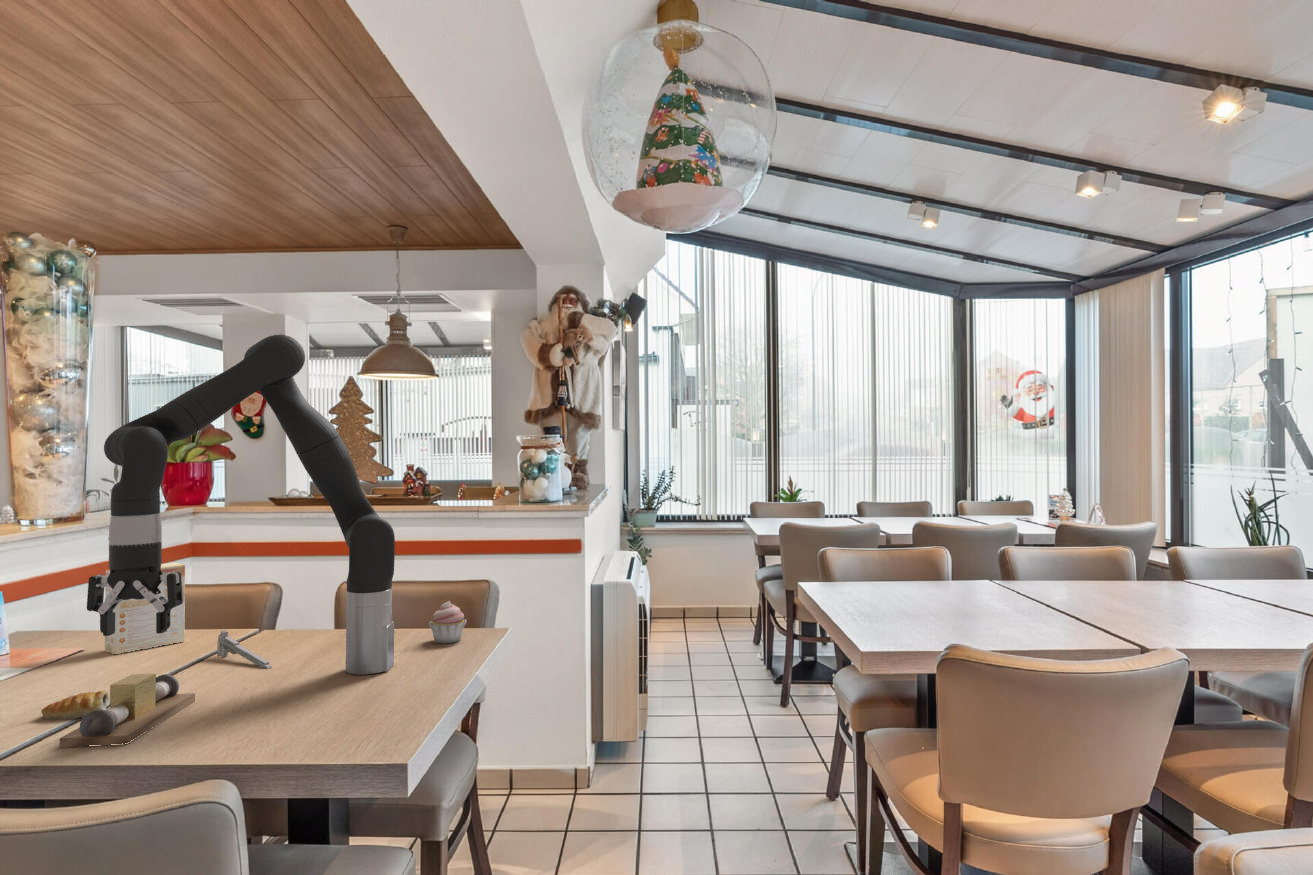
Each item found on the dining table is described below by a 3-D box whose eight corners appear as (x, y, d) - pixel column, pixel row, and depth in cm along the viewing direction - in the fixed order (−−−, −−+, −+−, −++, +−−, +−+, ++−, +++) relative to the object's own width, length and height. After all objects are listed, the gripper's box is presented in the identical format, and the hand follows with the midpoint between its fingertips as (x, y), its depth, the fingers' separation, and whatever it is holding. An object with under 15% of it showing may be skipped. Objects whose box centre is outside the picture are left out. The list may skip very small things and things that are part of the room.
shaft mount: (194, 701, 137) (195, 672, 137) (127, 744, 116) (127, 710, 116) (138, 703, 136) (138, 674, 136) (59, 747, 115) (60, 713, 115)
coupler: (155, 707, 129) (155, 673, 129) (134, 719, 123) (135, 683, 123) (131, 708, 129) (131, 674, 129) (109, 720, 123) (110, 684, 123)
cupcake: (461, 645, 177) (461, 604, 177) (423, 645, 177) (423, 604, 177) (471, 636, 186) (471, 597, 187) (435, 636, 186) (435, 597, 187)
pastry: (36, 725, 125) (36, 703, 126) (47, 713, 131) (48, 692, 132) (103, 716, 130) (103, 694, 130) (111, 705, 136) (111, 684, 136)
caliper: (216, 657, 168) (217, 629, 169) (221, 655, 169) (222, 629, 170) (267, 670, 158) (268, 641, 158) (272, 668, 159) (273, 640, 159)
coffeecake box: (173, 638, 185) (174, 561, 186) (185, 642, 181) (186, 564, 182) (103, 651, 173) (104, 569, 174) (114, 655, 169) (115, 571, 170)
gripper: (190, 537, 131) (190, 627, 131) (105, 539, 129) (104, 630, 129) (167, 542, 124) (167, 637, 123) (76, 544, 122) (76, 641, 122)
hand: (135, 633), depth 126 cm, fingers open, 8 cm apart
